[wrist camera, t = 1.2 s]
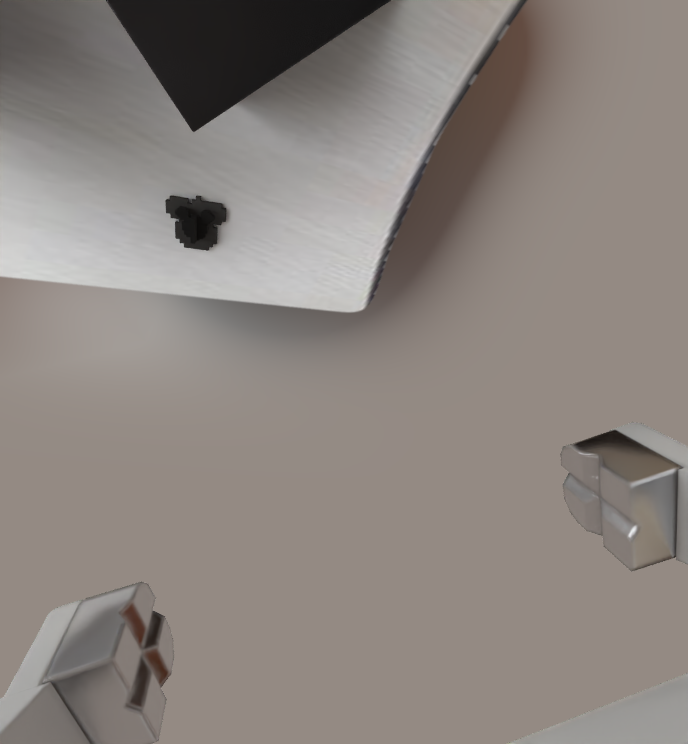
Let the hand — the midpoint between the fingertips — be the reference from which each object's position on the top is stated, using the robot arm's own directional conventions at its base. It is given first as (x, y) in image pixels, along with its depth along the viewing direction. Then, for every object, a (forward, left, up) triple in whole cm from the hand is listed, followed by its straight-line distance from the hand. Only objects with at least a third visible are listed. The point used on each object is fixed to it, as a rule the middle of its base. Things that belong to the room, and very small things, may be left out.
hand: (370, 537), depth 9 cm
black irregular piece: (+3, -15, -45) cm, 47 cm away
